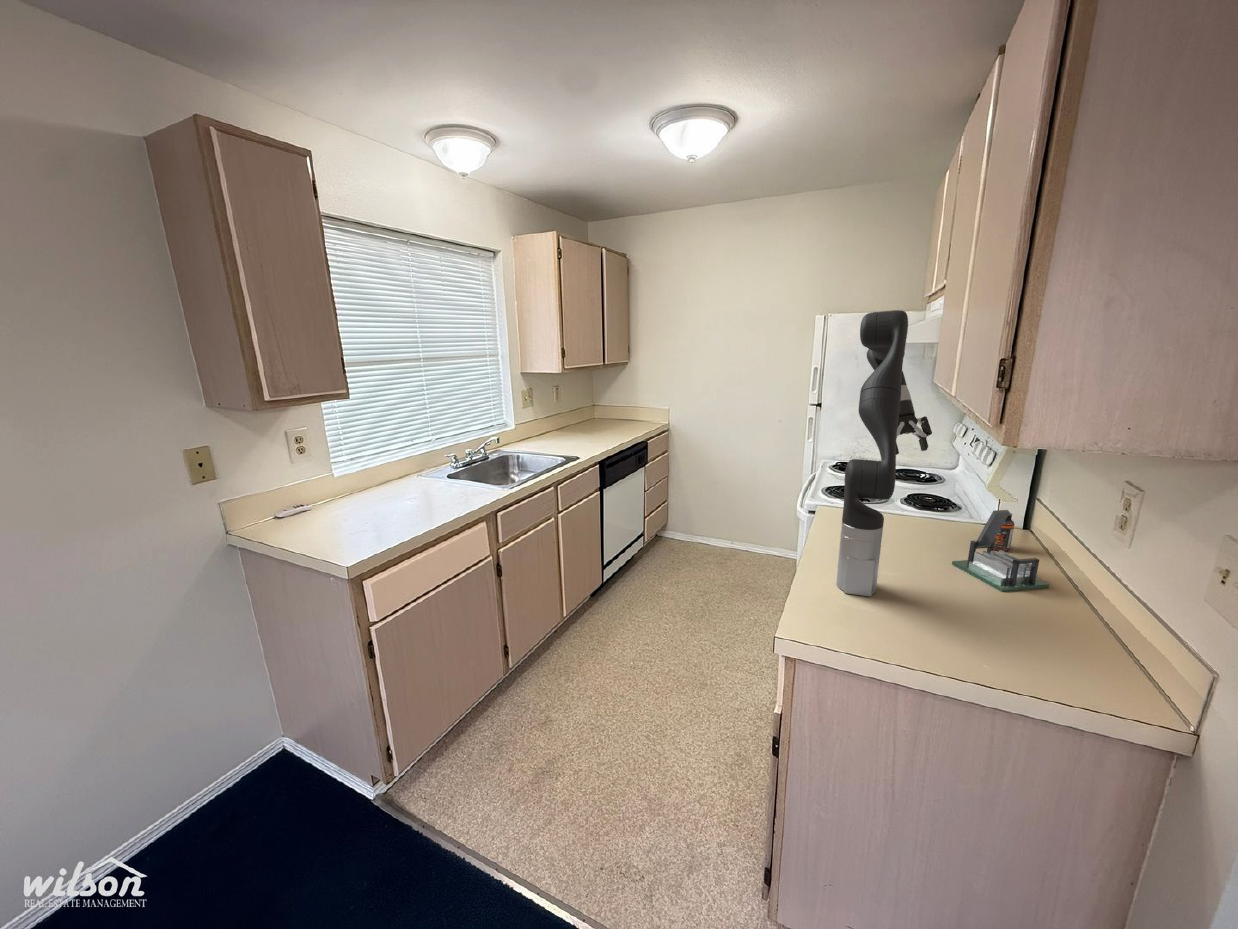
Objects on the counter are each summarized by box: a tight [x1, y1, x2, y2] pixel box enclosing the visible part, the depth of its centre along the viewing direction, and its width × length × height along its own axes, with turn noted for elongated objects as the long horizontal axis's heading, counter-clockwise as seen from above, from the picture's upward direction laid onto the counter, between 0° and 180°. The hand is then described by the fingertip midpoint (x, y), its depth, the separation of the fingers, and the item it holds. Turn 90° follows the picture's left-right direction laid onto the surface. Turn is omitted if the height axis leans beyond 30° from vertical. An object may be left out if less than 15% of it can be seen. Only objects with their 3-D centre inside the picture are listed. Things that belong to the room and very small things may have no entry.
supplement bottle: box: [994, 512, 1015, 552], centre depth 146 cm, size 6×6×11 cm
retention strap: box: [975, 509, 1011, 550], centre depth 132 cm, size 1×4×13 cm, turn 97°
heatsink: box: [951, 540, 1050, 593], centre depth 130 cm, size 16×13×8 cm
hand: (910, 452), depth 151 cm, fingers open, 8 cm apart
